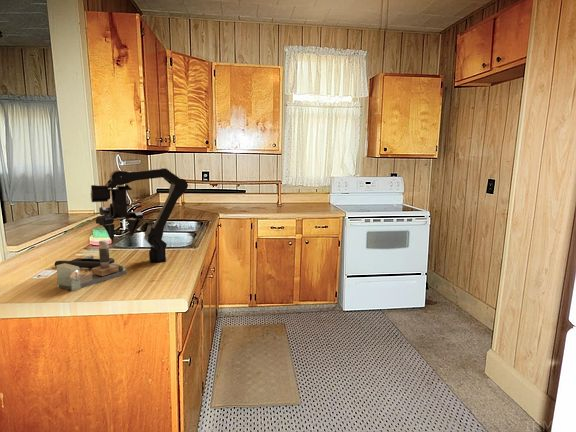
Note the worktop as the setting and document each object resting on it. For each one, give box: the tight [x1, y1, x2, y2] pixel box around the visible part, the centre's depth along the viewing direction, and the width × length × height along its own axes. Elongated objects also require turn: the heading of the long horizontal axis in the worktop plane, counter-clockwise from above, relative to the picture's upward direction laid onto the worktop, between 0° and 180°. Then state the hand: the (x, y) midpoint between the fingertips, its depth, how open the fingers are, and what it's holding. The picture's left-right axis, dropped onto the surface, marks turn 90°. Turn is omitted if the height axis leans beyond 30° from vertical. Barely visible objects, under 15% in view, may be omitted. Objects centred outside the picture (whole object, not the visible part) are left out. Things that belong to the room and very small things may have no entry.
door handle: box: [54, 255, 115, 270], centre depth 152 cm, size 3×20×16 cm
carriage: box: [91, 240, 119, 276], centre depth 135 cm, size 7×6×12 cm
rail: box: [55, 262, 127, 292], centre depth 131 cm, size 22×9×8 cm, turn 153°
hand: (121, 237), depth 149 cm, fingers open, 9 cm apart
